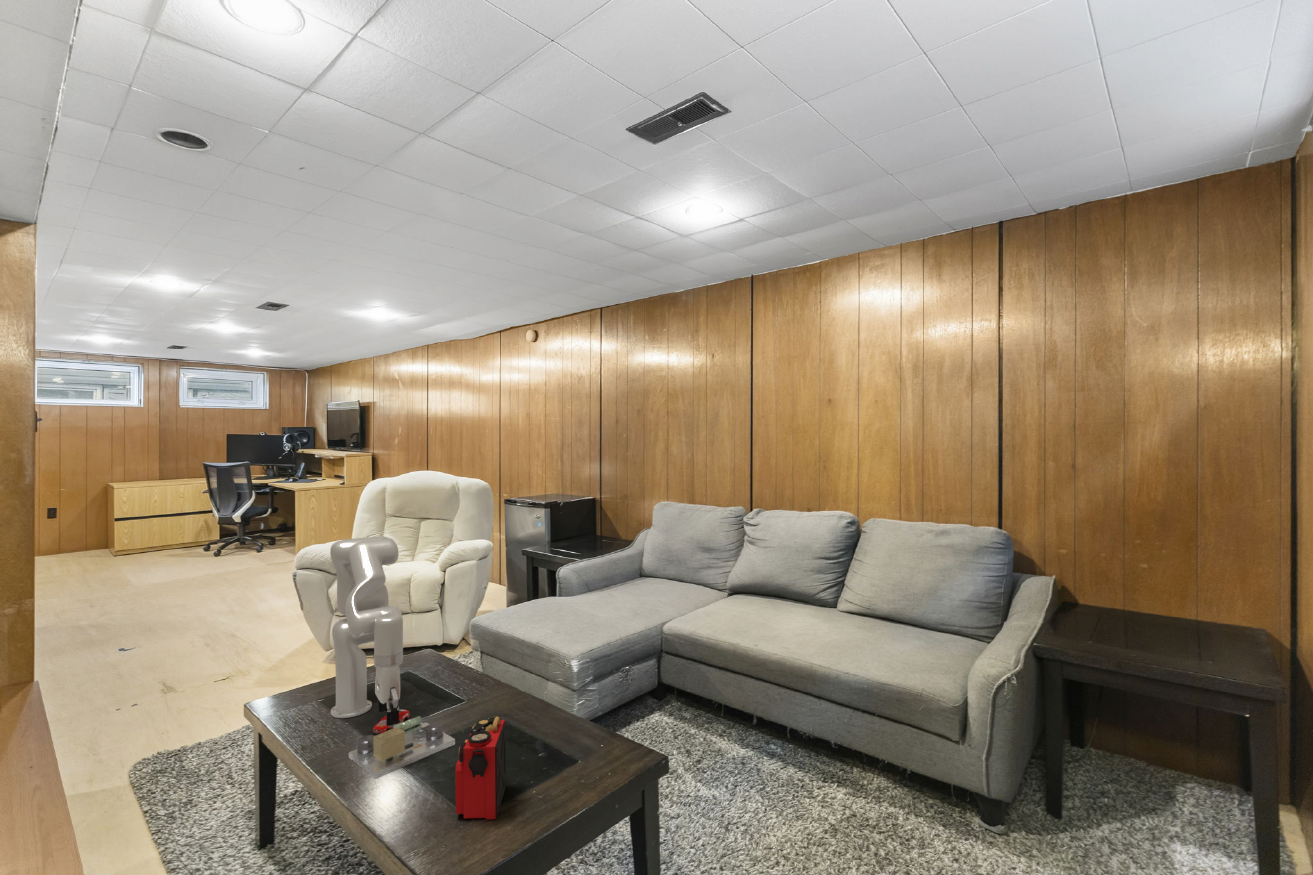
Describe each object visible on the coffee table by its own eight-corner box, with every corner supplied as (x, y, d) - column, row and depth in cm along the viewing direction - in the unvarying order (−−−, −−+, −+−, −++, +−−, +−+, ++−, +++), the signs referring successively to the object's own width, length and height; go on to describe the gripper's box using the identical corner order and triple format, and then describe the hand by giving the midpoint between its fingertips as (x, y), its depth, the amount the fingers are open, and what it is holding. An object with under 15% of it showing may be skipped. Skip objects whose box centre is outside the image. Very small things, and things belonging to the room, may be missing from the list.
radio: (468, 787, 160) (468, 711, 161) (507, 785, 161) (507, 710, 161) (453, 824, 145) (453, 741, 145) (497, 822, 146) (496, 739, 146)
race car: (382, 737, 188) (382, 725, 188) (369, 735, 190) (369, 722, 190) (413, 719, 201) (413, 707, 201) (400, 716, 203) (400, 704, 203)
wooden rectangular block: (381, 764, 168) (381, 741, 168) (373, 759, 171) (373, 736, 171) (416, 749, 177) (416, 726, 177) (408, 744, 179) (408, 722, 179)
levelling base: (348, 757, 176) (348, 736, 176) (426, 727, 194) (426, 708, 194) (375, 778, 165) (375, 756, 165) (455, 744, 183) (454, 724, 183)
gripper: (367, 651, 177) (367, 709, 178) (381, 671, 164) (381, 733, 164) (395, 646, 182) (394, 702, 182) (410, 664, 168) (410, 725, 168)
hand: (388, 717), depth 173 cm, fingers open, 9 cm apart
